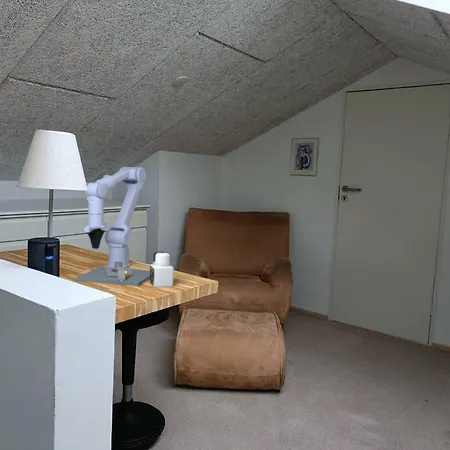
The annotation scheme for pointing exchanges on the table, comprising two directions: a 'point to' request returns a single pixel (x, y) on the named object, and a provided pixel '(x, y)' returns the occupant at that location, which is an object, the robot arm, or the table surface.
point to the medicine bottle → (161, 270)
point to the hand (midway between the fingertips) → (95, 248)
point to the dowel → (126, 274)
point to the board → (101, 277)
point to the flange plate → (118, 272)
